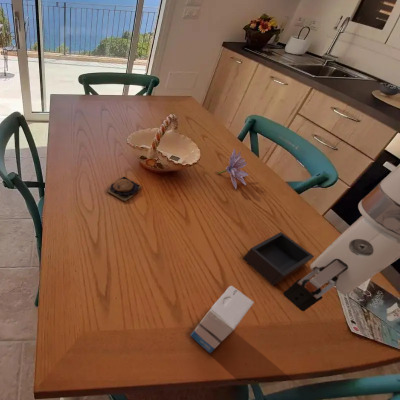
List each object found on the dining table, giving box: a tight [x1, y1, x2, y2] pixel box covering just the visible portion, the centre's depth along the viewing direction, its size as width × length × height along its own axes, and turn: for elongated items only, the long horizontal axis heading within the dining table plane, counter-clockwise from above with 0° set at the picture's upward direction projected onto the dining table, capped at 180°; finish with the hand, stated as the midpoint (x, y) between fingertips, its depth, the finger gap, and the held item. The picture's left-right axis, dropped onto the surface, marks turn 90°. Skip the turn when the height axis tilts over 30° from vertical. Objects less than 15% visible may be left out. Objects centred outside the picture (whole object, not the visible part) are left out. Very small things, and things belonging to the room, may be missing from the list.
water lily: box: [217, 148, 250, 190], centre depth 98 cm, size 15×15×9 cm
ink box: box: [190, 285, 255, 354], centre depth 54 cm, size 9×5×12 cm, turn 130°
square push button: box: [107, 176, 141, 202], centre depth 90 cm, size 11×8×4 cm
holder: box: [242, 231, 315, 287], centre depth 71 cm, size 9×13×5 cm
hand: (311, 288), depth 42 cm, fingers open, 9 cm apart
